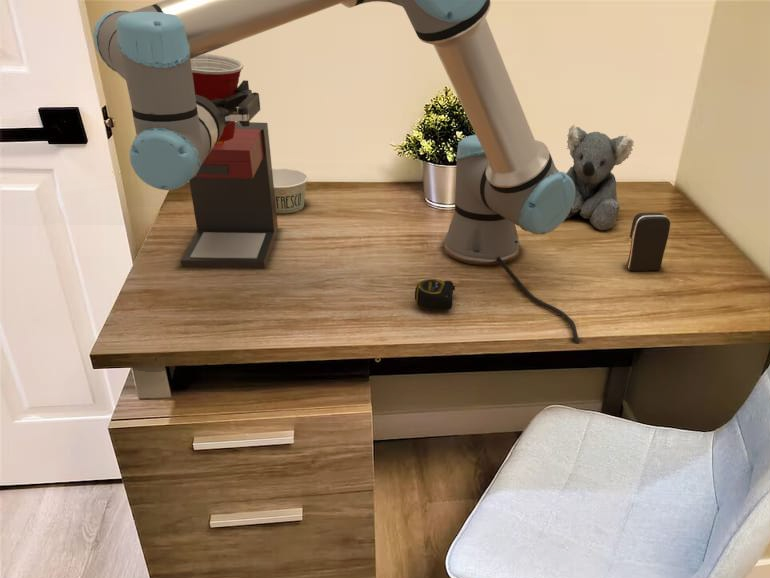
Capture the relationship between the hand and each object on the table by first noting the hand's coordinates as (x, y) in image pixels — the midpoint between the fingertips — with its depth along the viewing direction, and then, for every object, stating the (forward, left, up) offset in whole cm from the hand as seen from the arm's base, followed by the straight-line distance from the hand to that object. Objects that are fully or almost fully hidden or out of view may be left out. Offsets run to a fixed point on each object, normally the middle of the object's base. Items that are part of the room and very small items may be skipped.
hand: (224, 88), depth 120 cm
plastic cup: (-4, +3, -7) cm, 8 cm away
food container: (+25, -17, -32) cm, 44 cm away
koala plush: (-10, -76, -32) cm, 84 cm away
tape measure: (-30, -23, -32) cm, 50 cm away
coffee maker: (+9, 0, -32) cm, 33 cm away
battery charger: (-37, -67, -32) cm, 84 cm away
